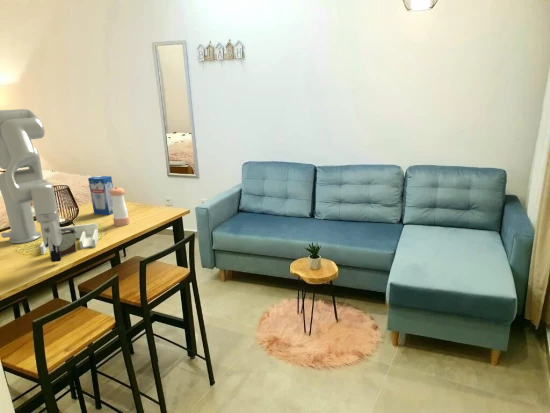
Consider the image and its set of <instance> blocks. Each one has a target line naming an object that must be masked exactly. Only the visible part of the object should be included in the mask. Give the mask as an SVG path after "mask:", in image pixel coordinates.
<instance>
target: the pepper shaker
mask: <svg viewBox="0 0 550 413" xmlns="http://www.w3.org/2000/svg"><path fill="white" fill-rule="evenodd" d="M125 191H126V190H125V189H124V188H122V187H119V186H115V187H113V189H111V190H110V195H111V196H112V201H113V214H112V215H113V217H112V218H113V225H114V226H115V227H123V226H128V225H129V224H130V216H129V215H128V214H129V213H128V209H127V205H126V203H125V195H124V194H125Z"/></svg>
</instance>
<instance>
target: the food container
mask: <svg viewBox="0 0 550 413" xmlns="http://www.w3.org/2000/svg"><path fill="white" fill-rule="evenodd" d="M61 233H62V241H61V243H60V245H59V250H60V254H61V258H62V257H65V256H69V255H71V254H74V253H77V243H76V242H77V239H75V233H76V230H75V229H74V228H62V229H61Z"/></svg>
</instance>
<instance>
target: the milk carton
mask: <svg viewBox="0 0 550 413" xmlns="http://www.w3.org/2000/svg"><path fill="white" fill-rule="evenodd" d="M87 180H88V184H89V185H88V186H89V191H90V197H91V203H92V209H93V214H94V215H100V216H101V215H103V216H111V215H113V201H112V196H111V195H110V190H111V189H113V188H114V184H113V179H112V176H110V175H94V176H91V177H89V178H87Z"/></svg>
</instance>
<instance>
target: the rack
mask: <svg viewBox="0 0 550 413" xmlns="http://www.w3.org/2000/svg"><path fill="white" fill-rule="evenodd" d="M97 223H98V222H95V223H87V224H86V223H85V224H78V225H69V226H63V227H61V226H60V229H62V228H74V229H75V230H76V233H75V240H77V239H76V238H79V247H80V249H81V250H83V249H90V248H91V249H92V248H96V247H97V245H98V244H97V242H98V240H99V230H98V224H97ZM39 249H40V255H45V254H46V252H47V249H49V247H47V248H46V247H45V246H44V242H43V241H42V242H41V244H40V246H39Z"/></svg>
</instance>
